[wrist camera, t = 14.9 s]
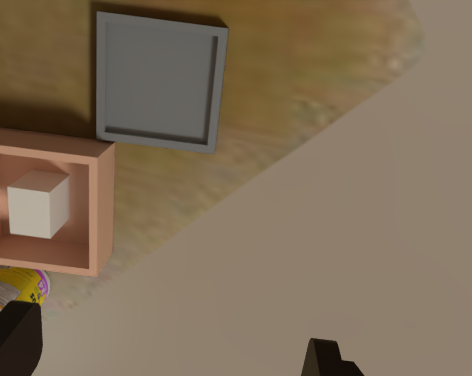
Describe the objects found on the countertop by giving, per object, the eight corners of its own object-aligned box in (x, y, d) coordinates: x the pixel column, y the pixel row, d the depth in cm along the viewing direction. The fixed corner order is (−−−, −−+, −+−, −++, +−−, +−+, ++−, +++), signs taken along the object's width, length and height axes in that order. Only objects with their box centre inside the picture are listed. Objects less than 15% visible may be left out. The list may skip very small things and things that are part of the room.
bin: (-10, 125, 45) (-43, 139, 40) (115, 141, 45) (97, 157, 40) (0, 236, 50) (-29, 261, 45) (113, 250, 50) (96, 276, 45)
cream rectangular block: (32, 169, 46) (7, 186, 41) (69, 174, 46) (49, 192, 41) (33, 212, 48) (10, 233, 43) (70, 217, 48) (50, 238, 43)
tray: (101, 11, 41) (96, 11, 39) (228, 28, 41) (228, 28, 39) (100, 135, 45) (96, 138, 44) (215, 150, 45) (214, 154, 44)
